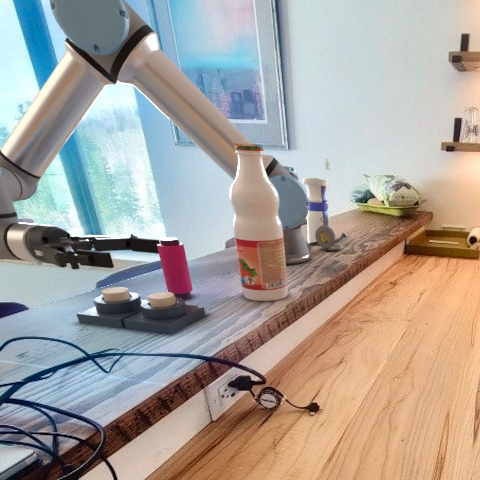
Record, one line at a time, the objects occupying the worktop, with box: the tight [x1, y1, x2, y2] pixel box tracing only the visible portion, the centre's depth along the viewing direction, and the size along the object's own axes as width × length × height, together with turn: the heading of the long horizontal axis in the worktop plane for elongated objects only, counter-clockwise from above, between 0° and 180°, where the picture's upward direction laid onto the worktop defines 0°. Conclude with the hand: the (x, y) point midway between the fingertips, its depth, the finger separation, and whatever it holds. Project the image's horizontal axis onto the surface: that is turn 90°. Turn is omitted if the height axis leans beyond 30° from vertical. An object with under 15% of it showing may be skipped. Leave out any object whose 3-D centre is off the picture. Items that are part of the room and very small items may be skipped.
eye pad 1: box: [101, 286, 130, 302], centre depth 75 cm, size 4×4×2 cm
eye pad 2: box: [147, 291, 176, 307], centre depth 73 cm, size 4×4×2 cm
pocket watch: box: [315, 217, 343, 252], centre depth 132 cm, size 8×8×10 cm
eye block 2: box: [123, 297, 206, 335], centre depth 75 cm, size 10×8×4 cm
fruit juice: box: [229, 143, 289, 302], centre depth 84 cm, size 9×9×28 cm
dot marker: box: [157, 237, 194, 301], centre depth 84 cm, size 5×5×12 cm
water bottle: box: [301, 158, 331, 244], centre depth 137 cm, size 8×9×25 cm
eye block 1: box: [76, 291, 147, 329], centre depth 76 cm, size 10×8×4 cm
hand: (136, 253), depth 84 cm, fingers open, 13 cm apart
